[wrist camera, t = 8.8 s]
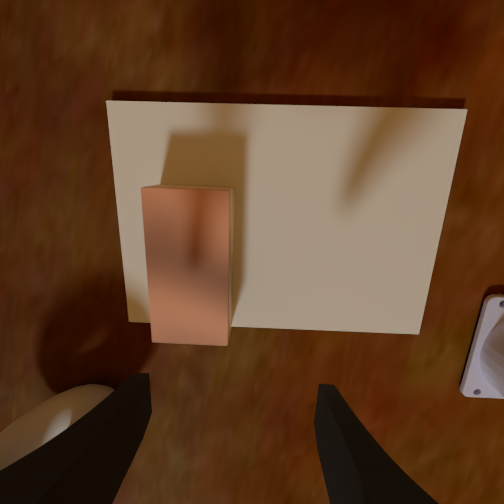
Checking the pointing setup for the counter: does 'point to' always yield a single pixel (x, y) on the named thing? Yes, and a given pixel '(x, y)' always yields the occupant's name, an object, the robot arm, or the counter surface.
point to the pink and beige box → (189, 262)
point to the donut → (48, 421)
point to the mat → (299, 204)
